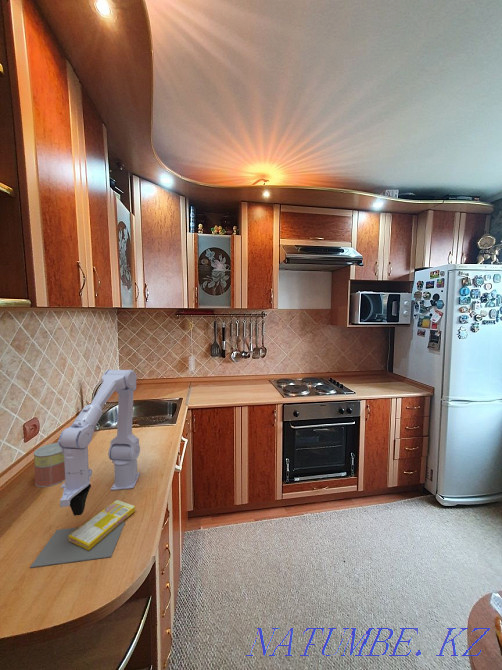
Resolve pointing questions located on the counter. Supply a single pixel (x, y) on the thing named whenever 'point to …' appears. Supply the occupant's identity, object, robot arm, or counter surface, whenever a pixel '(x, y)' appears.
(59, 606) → the counter surface
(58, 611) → the counter surface
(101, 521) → the candy box
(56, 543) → the mat
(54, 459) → the canned food
